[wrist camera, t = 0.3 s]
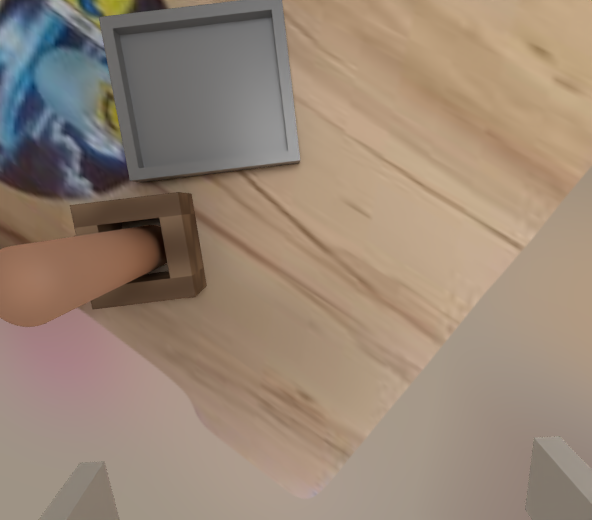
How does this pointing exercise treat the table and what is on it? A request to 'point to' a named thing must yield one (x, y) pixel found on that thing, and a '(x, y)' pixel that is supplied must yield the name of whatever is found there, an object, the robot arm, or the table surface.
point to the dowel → (73, 271)
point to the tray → (202, 89)
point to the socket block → (177, 240)
